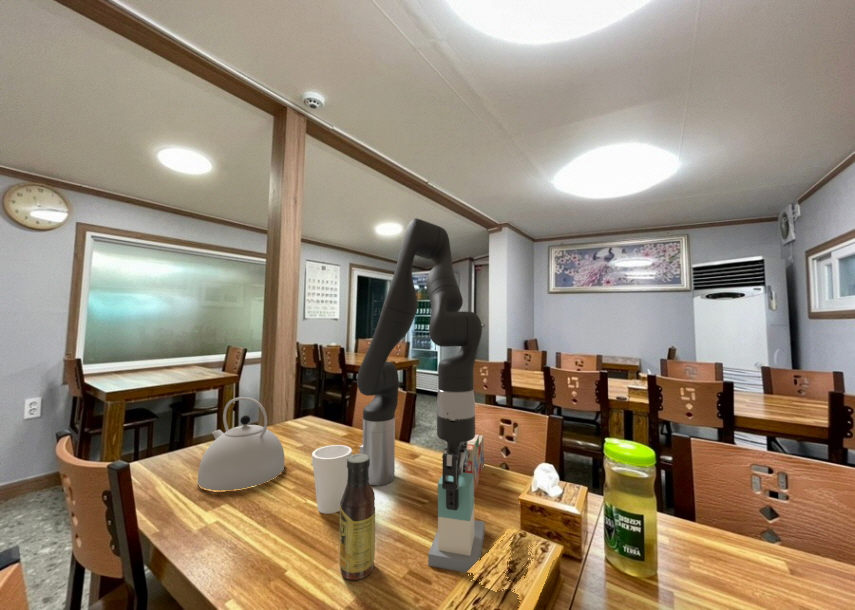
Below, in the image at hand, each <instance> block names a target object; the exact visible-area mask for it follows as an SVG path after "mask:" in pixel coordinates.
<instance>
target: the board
mask: <svg viewBox="0 0 855 610" xmlns="http://www.w3.org/2000/svg"><path fill="white" fill-rule="evenodd" d="M485 526H486V524H485V521H482V520H477V519H476V520H475V519H474V541H473V545H472V550H471V555H470V556H468V555H463V554H457V553H451V552H445V551H440V550H438V530H437V531H436V533H435V536H434V539H433V541H432V543H431V546H430V548H429V551H428V554H427V556H428V557H427V559H428V560H427V564H428V566H429V567H434V568H438V569H444V570H449V571H455V572H459V573H460V572H461V573H465V574H467V573H466V572H467V571H468V570H469V569H470V568H471V567H472V566H473V565H474V564H475V563H476V562H477V561H478V560H479V558H480V557H481V558H482V553H483V552H482V551H483V546H484V545H483V544H484V538H485V532H486V527H485ZM481 558H480V559H481ZM428 566H427V567H428Z"/></svg>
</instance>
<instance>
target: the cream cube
mask: <svg viewBox="0 0 855 610" xmlns="http://www.w3.org/2000/svg"><path fill="white" fill-rule="evenodd" d="M474 520H475V506H474V507H473V511H472V515H471V519H470V521H464V520H457V519H451V518H444V517H438V516H437V531H438V550H440V551H445V552H451V553H457V554H463V555H468V556H470V555H471V550H472V545H473V541H474Z"/></svg>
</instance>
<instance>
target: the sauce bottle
mask: <svg viewBox="0 0 855 610" xmlns="http://www.w3.org/2000/svg"><path fill="white" fill-rule="evenodd" d="M369 465H370V458H369V456H368V455H366V454H360V453H355V454H352V455H351V456H350V457H348V458H347V468H348V479H347V485H346V488H345V491H344V494H343V496H342V499H341V502H340V511H339V552H338V553H339V556H338V557H339V561H338V564H339V570H340V573H341V575H342V578H344V579H346V580H352V581H356V580H357V581H358V580H362V579H364V578H367V576H369V575H370V574H371V573H372V571H373V569H374V565H375V557H376V556H375V549H376V548H375V547H376V545H375V544H376V533H375V532H376V506H375V505H376V504H375V500H376V496H375V492H374V489H373V487H372V485H370V484H369V482H368V481H369V477H368V470H369Z"/></svg>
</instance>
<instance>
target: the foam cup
mask: <svg viewBox="0 0 855 610" xmlns="http://www.w3.org/2000/svg"><path fill="white" fill-rule="evenodd" d="M351 455H353V450H352V448H351V447H350V446H348V445H344V444H343V445H342V444H333V445H332V444H331V445H326V446H322V447H319V448H316V449H315V450H314V451H312V453H311V467H312V468H313V477H314V486H315V495H316V496H315V497H316V506H317V511H318V513H321V514H324V515H325V514H326V515H327V514H330V515H331V514H335V513H338V512H340V502H341V499H342V496H343V494H344V491H345V488H346V485H347V479H348V468H347V458H348V457H350V456H351Z"/></svg>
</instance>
